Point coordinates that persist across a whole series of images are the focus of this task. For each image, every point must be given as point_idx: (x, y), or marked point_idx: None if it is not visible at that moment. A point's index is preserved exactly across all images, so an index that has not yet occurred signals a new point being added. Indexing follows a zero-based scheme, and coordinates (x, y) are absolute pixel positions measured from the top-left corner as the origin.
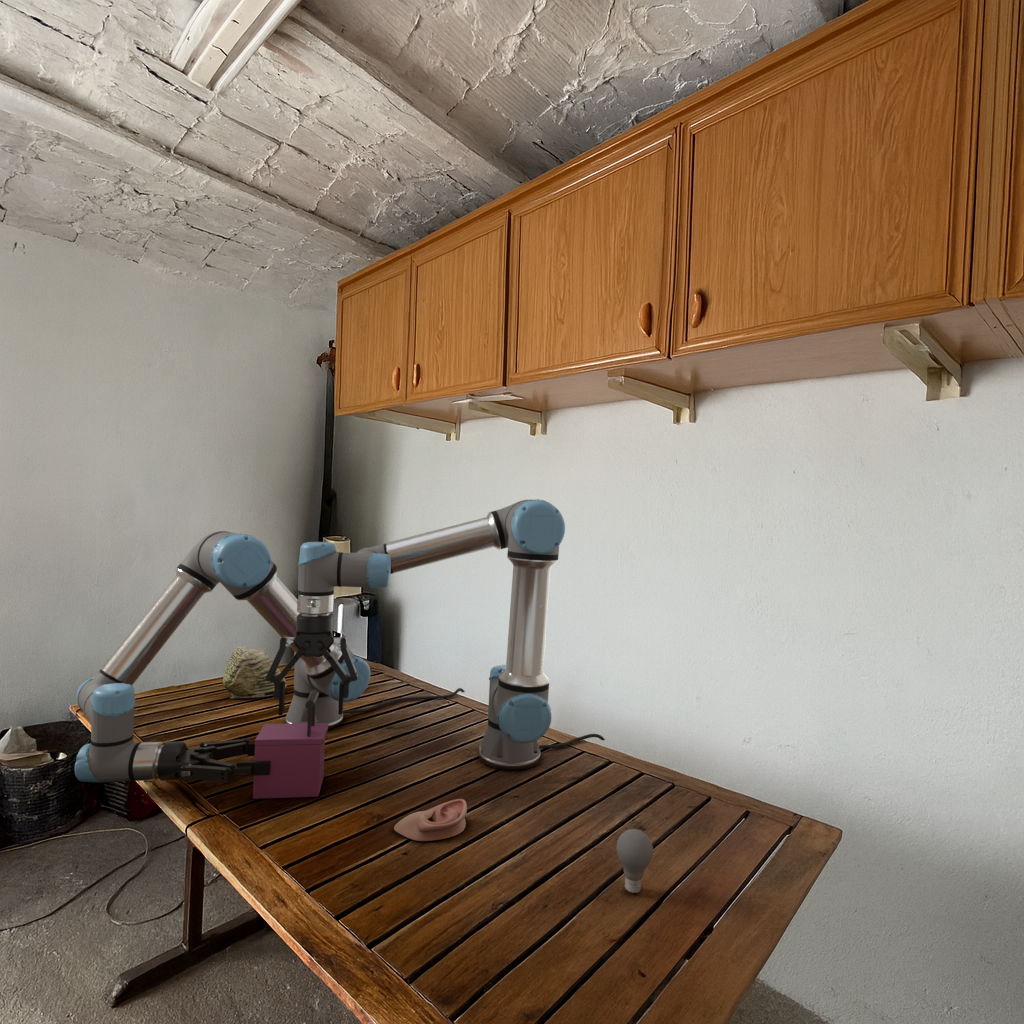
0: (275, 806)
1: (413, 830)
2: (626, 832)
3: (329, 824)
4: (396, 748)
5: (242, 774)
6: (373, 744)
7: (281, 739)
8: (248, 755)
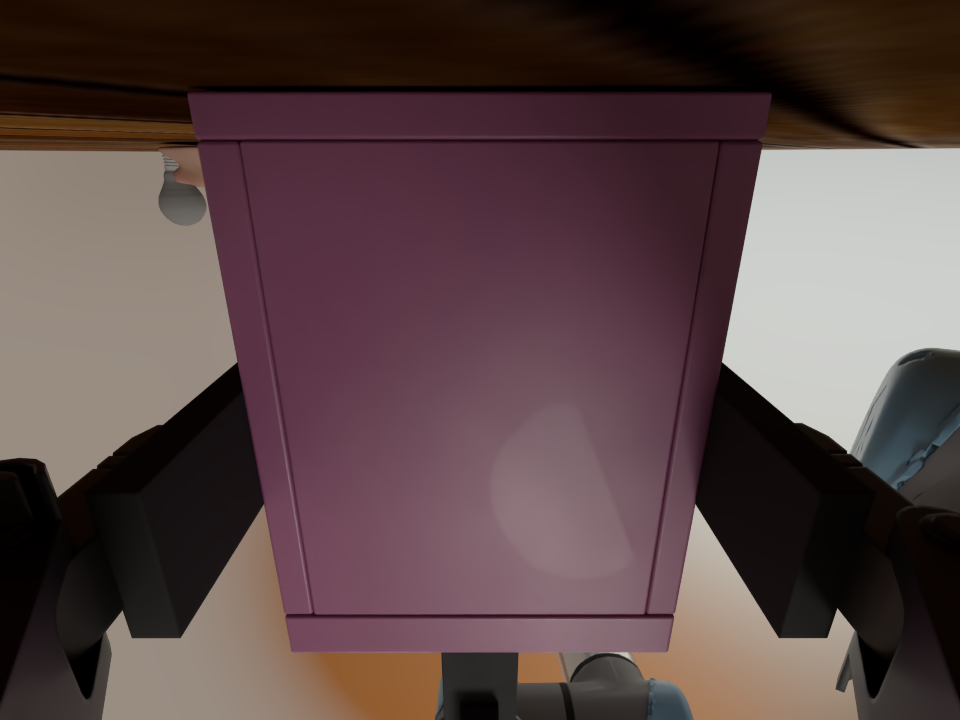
0: (153, 112)
1: (181, 162)
2: (184, 223)
3: (123, 133)
4: (774, 141)
5: (89, 478)
6: (879, 138)
7: None
8: (807, 495)
